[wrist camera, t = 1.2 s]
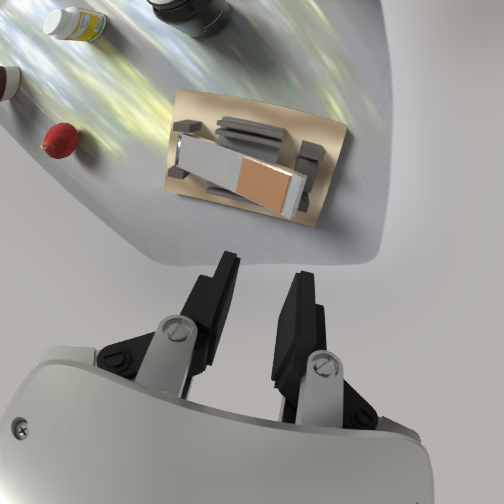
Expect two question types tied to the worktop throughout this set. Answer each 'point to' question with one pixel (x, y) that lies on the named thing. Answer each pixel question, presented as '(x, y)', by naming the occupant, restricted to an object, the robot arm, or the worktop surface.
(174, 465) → the robot arm
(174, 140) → the heatsink base
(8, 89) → the coffee cup
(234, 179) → the strap
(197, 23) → the supplement bottle
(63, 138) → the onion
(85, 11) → the supplement bottle
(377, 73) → the worktop surface
